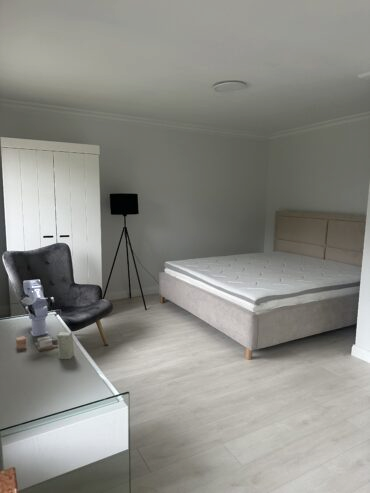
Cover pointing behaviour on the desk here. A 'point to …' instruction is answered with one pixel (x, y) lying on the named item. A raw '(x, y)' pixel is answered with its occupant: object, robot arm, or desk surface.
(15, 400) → the desk surface
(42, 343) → the plate
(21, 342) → the terracotta block
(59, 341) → the skincare box
